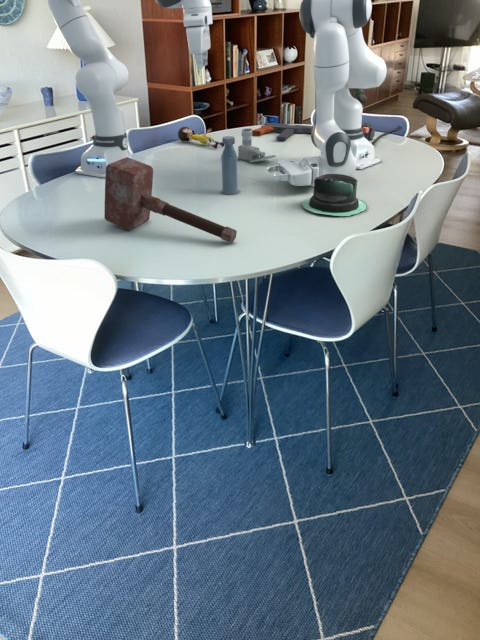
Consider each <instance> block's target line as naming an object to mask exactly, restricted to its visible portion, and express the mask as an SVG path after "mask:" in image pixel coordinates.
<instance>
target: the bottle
mask: <svg viewBox="0 0 480 640" xmlns="http://www.w3.org/2000/svg"><path fill="white" fill-rule="evenodd" d="M220 158H221V159H220V161H221V187H222V194H225V195H237V194H238V193H239V192H238V191H239V190H238V186H239V184H238V154H237V151H236V150H235V146H234V144H232V145H225V144H224V146H223V149H222V152H221V156H220Z"/></svg>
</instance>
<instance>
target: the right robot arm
mask: <svg viewBox="0 0 480 640" xmlns="http://www.w3.org/2000/svg"><path fill="white" fill-rule="evenodd" d="M372 9H373V3H372V0H301V2H300V6H299V12H298V13H299V15H298V16H299V22H300V25H301V28H302V29H303V30H304V32H305V33H307V34H308V35H309V36H310V38H311V39H313V44H312V45H313V48H312V64H313V67H312V69H313V75H314V76H313V77H314V78H313V79H314V110H315V111H314V123H313V129H312V132H311V133H310V140H311V142H312V144H313V146H314V147H315V148H316V149H318V150H319V151H320V155H319V156H306V157H303V159H302V160H301V161H300V160H298V159H279V160H277V161H276V164H275V165H272V166H271V165H270V166H267V167H266V171H267V172H268V173H269V174H271V173H274V175H273V179H274V180H275V181H284V182H289V184H290V185H292V186H296V187H303V186H306V187H307V186H311V187H314V180H315V178H316V177H319V176H321V175H325V174H344V175H348V176H351V177H353V176H354V175H355V174H356V170H363V169H365V168H368V167H370V166H373V165H376V164H378V163H381V158H379V157H377V156H376V155H375V150H376V149H375V145H376V143H377V141H378V140H380V139H381V138H383V137H384V136H385V135H388V134H390V133H394V132H396V131H398V130H399V129H401V125H397V127H396V128H395V129H394V128H393V129H391V130H388V131H386V132H383V133H382V134H380V135H378V136H377V137H376V138H375V139H374V141H372V143H371V141H368V140H367V139H366V138H365V137H364V134H363V132H365V133H368V129H369V128H368V127H363V128H362V127H361V125H362V123H363V122H362V121H363V111H364V106H363V107H362V105H361V103H360V102H359V101H358V100H357V99H355V98H353V97H352V96H351V94H350V93H349V88H360V89H363V90H369V89H373V88H379V87H380V86H381V85H382V84H383V83H384V82H385V80H386V77H387V72H388V71H387V70H388V67H387V64H386V62H385V60H384V58H382V57H381V56H379V55H377V54H376V53H374V51H372V49H370V47H369V46H368V45H367V43H366V40H365V38H364V34H363V27H365V26H366V25H367V24H368V22H369V21H370V17H371V14H372ZM275 172H279V173H275Z"/></svg>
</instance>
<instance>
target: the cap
mask: <svg viewBox="0 0 480 640" xmlns="http://www.w3.org/2000/svg"><path fill="white" fill-rule="evenodd" d="M221 140H222V141H221V142H223V144H224V146H225V145H232V144H233V145H234V144H235V143H236V139H235V136H233V135H227V136H226V135H225V136H223V137H222V139H221Z"/></svg>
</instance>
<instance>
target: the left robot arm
mask: <svg viewBox="0 0 480 640" xmlns="http://www.w3.org/2000/svg"><path fill="white" fill-rule="evenodd" d="M47 1H48V8H49V10H50V13H51V16H52V18H53V21H54V22H55V24H56V26H57V29H58V31H59V33H60V34H61V36H62V38H63V39H64V42H65V43H66V45H67V47H68V49H69V51H70V52H71V53H72V55H74V56H75V57H76V58H78V59H79V60H80V61H81V62H82V63H83V65H84V66H82V67H81V68H79V69H78V70H77V72H76V74H75V76H74V82H75V83H74V84H75V86H76V89H77V91H79V93H80V95H82V96H84V98H85V99H86V101H87V104H88V106H89V110H90V112H91V115H92V121H93V126H94V133H95V134H93V135H92V136H90V137H89V141H92V145H91V146H90V147H88V148H87V149H86V150H85V151H84V152H83V153H82V154H81V157H80V160H79V161H80V166H79V167H77V168H76V169H75V174H79V175H85V176H90V177H97V178H105V177H106V166H107V165H108V164H110V163H113V162H116V161H118V160H121V159H123V158H126V157H128V158H131V156H130V152H129V142H128V135H127V132H126V126H125V119H124V118H125V117H124V112H123V110H122V109H121V107H119V105H118V103H117V101H116V97H115V95H114V93H116V92H119V91H121V90H123V88H124V87H125V86H126V85H127V84H128V83H129V78H130V74H129V70H128V67H127V66H126V65H125V64H124V63H123V62H122V61H120V60H119V59H118V58H116V56H114V54H113V53H112V52H111V51H110V49H108V47H107V46H106V44H104V42H103V41H102V39H101V38H100V36H99V34H98V32H97V31H96V29H95V27H94V26H93V23H92V22H91V19H90V18H89V16H88V14H87V12H86V10H85V9H84V7H83V5H82V0H47ZM155 2H156V4H158V6H159V7H161V8H164V9H182V11H183V19H182V22H183V27H184V28H186V29H185V32H186V37H187V38H186V39H187V45H188V50H189V52H190V55H193V56H194V59H195V64H196V69H197V70H202V69H204V67H206V66H208V50H211V47H212V46H211V44H212V43H211V34H210V25H213V24H214V23H213V21H214V20H213V8H212V2H211V0H155Z"/></svg>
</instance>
